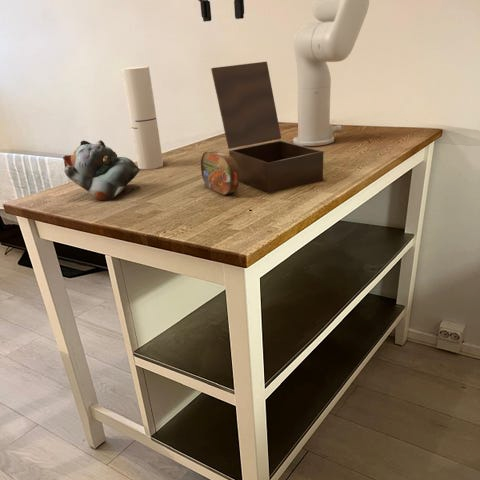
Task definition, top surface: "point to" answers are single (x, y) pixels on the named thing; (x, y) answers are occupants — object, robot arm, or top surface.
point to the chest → (278, 165)
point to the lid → (246, 104)
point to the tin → (220, 172)
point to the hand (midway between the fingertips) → (223, 19)
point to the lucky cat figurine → (99, 170)
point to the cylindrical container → (142, 116)
